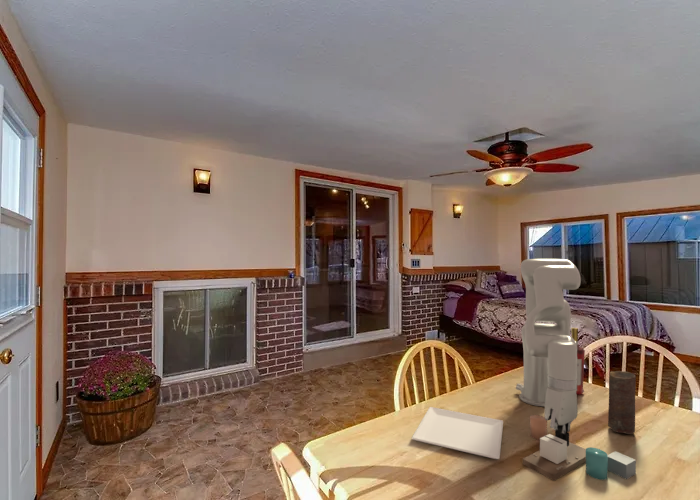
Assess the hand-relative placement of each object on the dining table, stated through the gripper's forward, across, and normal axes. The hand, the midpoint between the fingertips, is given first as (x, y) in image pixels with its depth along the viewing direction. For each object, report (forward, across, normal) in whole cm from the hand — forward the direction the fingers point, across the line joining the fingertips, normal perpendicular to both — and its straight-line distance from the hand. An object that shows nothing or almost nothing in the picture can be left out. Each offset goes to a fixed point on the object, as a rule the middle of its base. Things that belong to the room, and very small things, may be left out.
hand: (562, 444), depth 107 cm
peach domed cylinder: (+4, -7, -11) cm, 13 cm away
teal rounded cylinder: (+4, 0, +9) cm, 10 cm away
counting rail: (+4, +2, 0) cm, 5 cm away
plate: (+5, +14, -26) cm, 30 cm away
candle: (+4, -34, +2) cm, 34 cm away
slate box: (+4, -8, +12) cm, 15 cm away
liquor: (+4, -56, -24) cm, 61 cm away
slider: (+2, +5, 0) cm, 5 cm away
